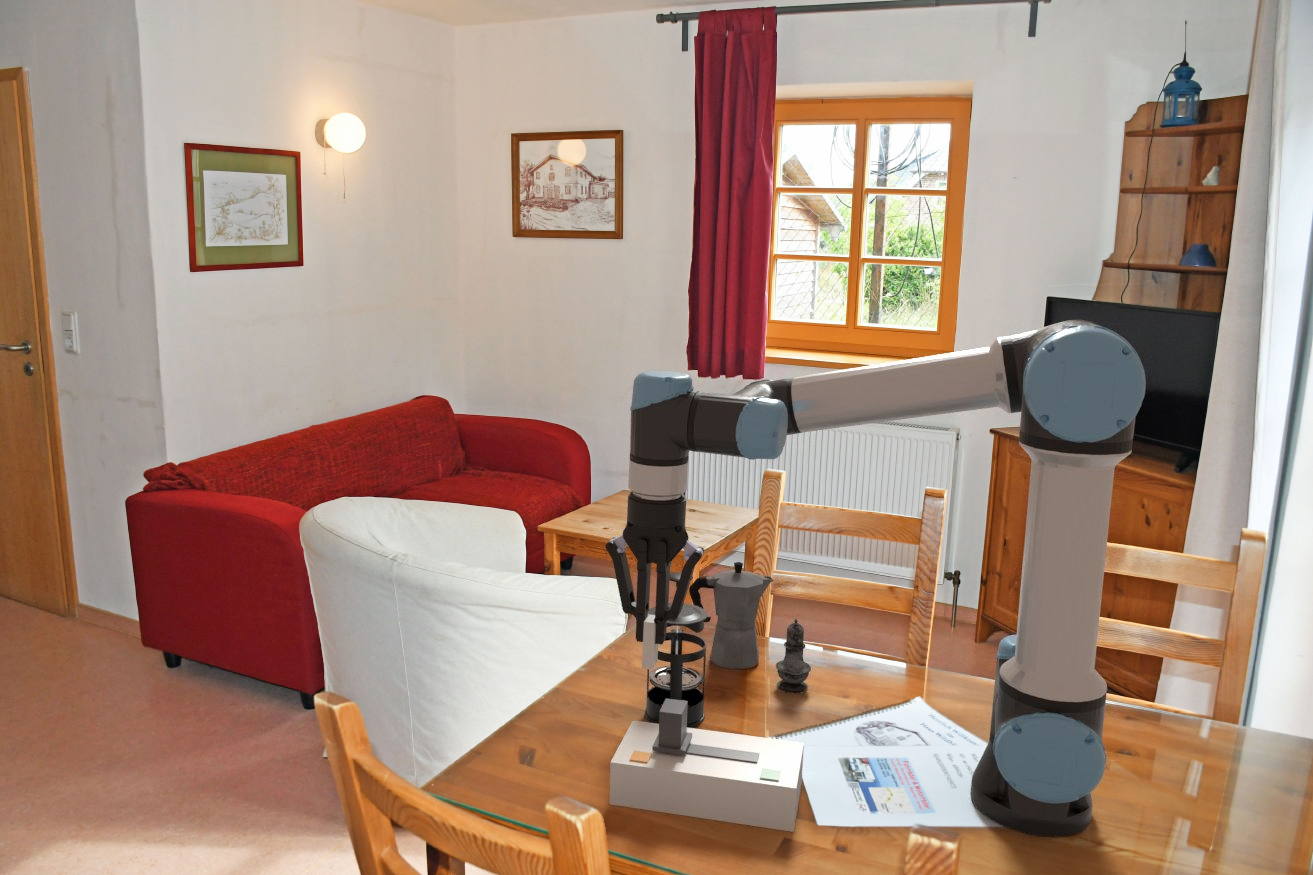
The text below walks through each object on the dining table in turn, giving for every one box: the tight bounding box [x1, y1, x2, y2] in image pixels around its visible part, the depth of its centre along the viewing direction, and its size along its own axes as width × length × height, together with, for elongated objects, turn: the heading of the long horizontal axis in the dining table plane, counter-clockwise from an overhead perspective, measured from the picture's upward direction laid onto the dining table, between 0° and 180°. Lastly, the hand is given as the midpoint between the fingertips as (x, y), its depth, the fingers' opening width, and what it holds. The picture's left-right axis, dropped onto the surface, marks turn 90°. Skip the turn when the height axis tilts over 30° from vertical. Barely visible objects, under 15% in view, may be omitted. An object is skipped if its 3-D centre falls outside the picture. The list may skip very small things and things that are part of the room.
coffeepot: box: [688, 561, 775, 670], centre depth 176 cm, size 15×9×18 cm, turn 104°
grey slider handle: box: [652, 698, 692, 755], centre depth 133 cm, size 4×5×5 cm
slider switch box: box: [609, 720, 805, 833], centre depth 133 cm, size 24×12×6 cm, turn 77°
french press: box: [644, 571, 708, 728], centre depth 154 cm, size 12×9×23 cm
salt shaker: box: [775, 618, 812, 695], centre depth 166 cm, size 6×6×12 cm
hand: (649, 664), depth 132 cm, fingers closed
